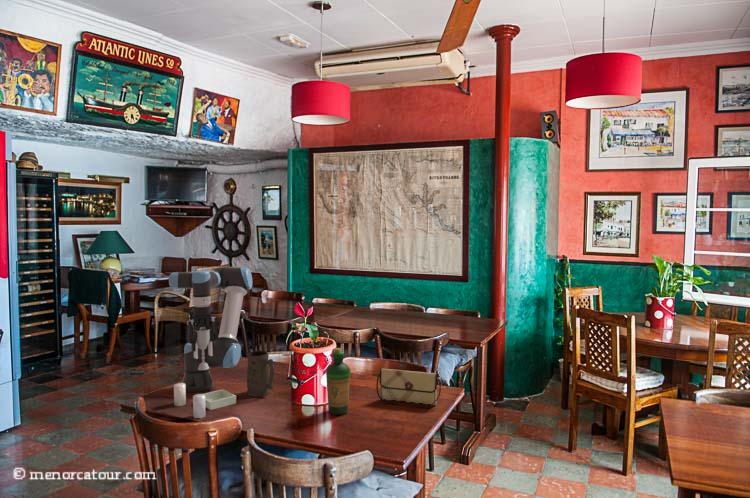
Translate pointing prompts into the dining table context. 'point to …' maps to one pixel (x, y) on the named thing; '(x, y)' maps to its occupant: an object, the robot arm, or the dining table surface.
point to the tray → (219, 399)
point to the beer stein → (259, 374)
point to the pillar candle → (199, 406)
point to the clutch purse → (408, 386)
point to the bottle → (338, 384)
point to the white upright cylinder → (179, 394)
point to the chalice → (203, 345)
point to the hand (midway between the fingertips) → (203, 356)
